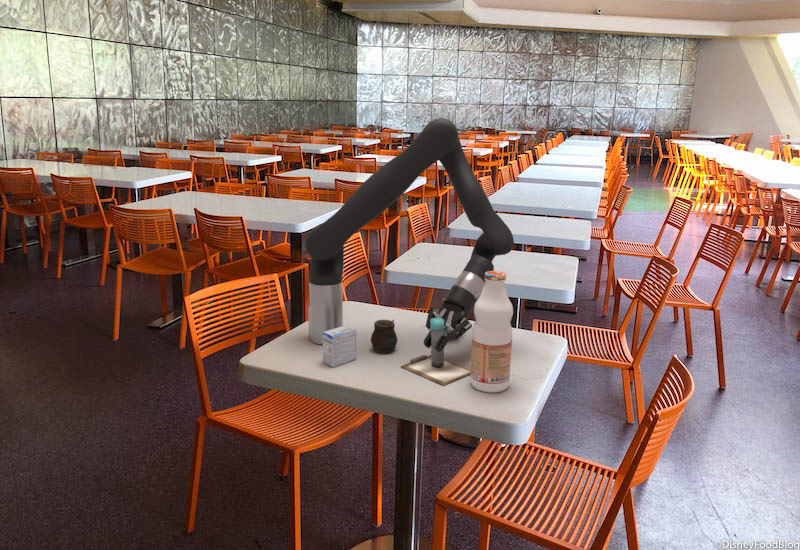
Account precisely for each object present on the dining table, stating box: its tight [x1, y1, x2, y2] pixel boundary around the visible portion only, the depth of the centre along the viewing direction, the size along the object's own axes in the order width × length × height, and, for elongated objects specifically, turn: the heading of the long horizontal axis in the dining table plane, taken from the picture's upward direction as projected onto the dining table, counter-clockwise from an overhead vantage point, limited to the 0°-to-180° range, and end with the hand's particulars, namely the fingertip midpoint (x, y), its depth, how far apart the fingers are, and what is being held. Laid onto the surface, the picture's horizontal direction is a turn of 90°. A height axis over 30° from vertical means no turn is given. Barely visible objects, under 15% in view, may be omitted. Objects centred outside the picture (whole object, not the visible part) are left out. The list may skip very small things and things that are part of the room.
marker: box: [430, 318, 445, 368], centre depth 162 cm, size 3×3×12 cm
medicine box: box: [322, 325, 357, 368], centre depth 166 cm, size 8×4×9 cm, turn 135°
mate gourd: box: [370, 319, 398, 354], centre depth 174 cm, size 7×8×10 cm
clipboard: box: [400, 354, 471, 387], centre depth 162 cm, size 15×12×1 cm
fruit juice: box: [469, 270, 514, 394], centre depth 151 cm, size 9×9×28 cm
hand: (431, 348), depth 161 cm, fingers closed on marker, 3 cm apart
